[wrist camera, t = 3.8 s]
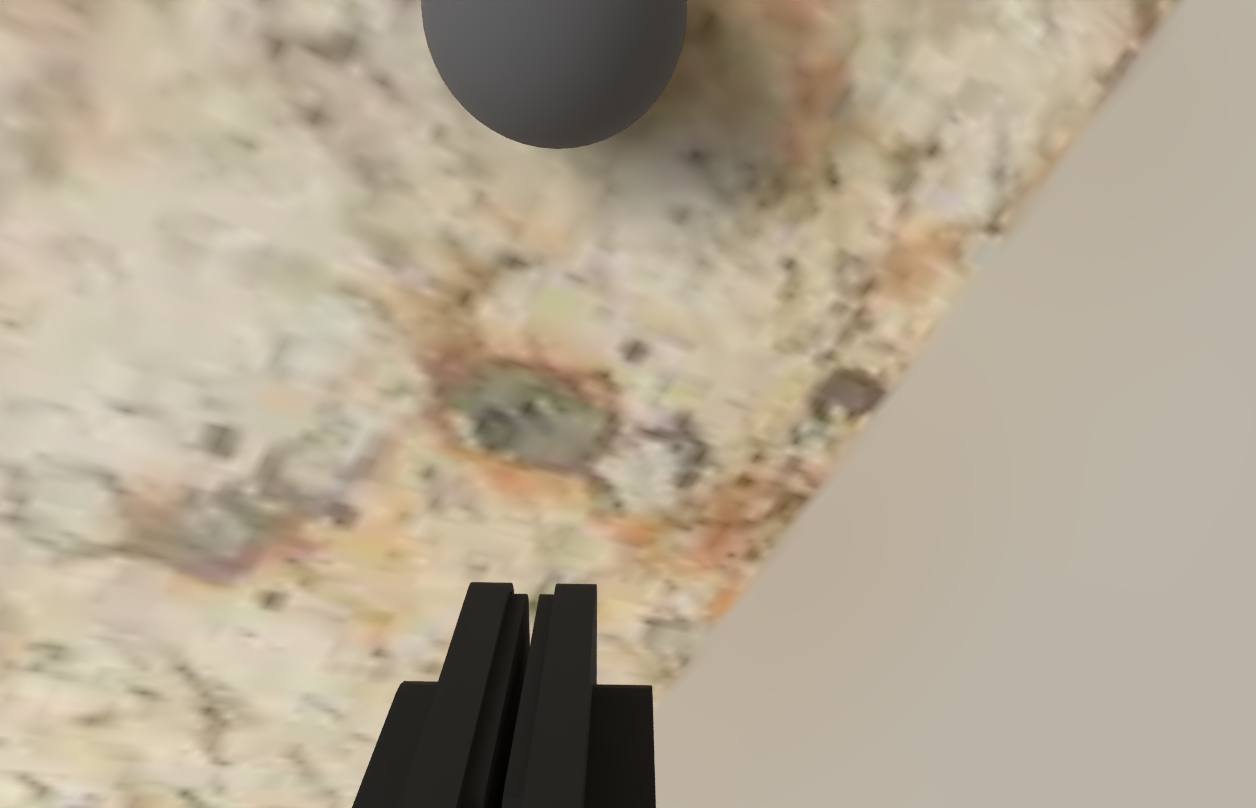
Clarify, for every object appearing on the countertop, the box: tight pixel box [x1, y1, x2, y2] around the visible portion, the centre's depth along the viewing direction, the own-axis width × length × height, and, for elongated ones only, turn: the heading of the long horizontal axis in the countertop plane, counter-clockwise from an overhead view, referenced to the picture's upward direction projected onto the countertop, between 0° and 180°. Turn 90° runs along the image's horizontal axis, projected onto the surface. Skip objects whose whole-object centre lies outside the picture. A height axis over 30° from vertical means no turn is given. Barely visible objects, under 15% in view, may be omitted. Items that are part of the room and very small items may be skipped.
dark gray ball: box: [421, 0, 687, 149], centre depth 19 cm, size 6×6×6 cm
